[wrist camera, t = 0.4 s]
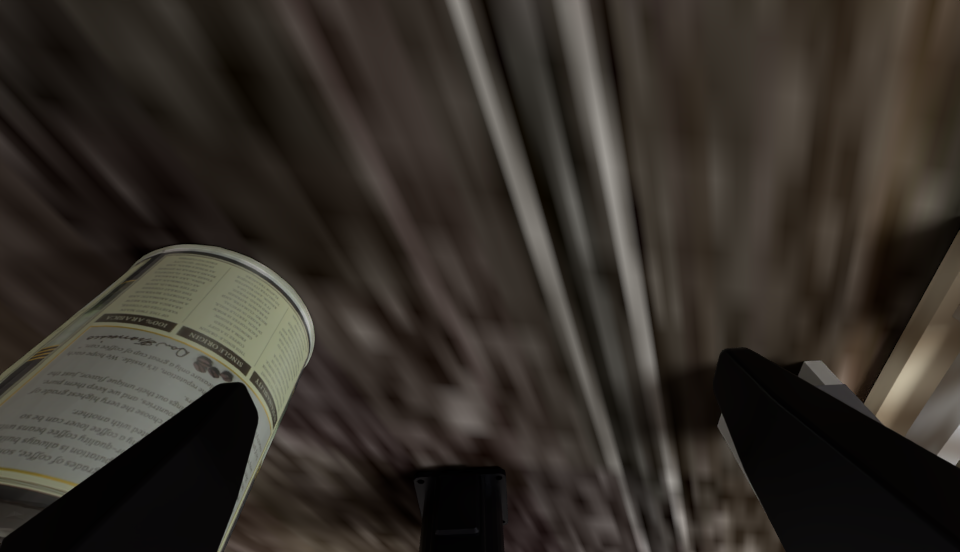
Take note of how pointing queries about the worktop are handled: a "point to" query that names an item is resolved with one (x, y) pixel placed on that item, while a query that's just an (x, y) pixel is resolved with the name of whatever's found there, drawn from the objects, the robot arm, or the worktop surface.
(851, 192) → the worktop surface
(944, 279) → the rail
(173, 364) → the grey green cylinder
